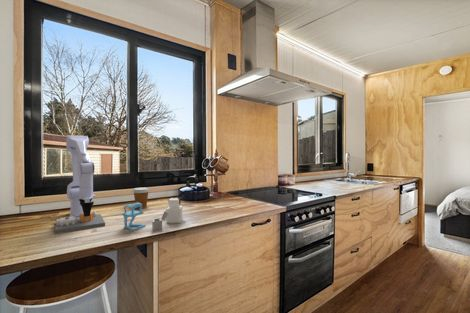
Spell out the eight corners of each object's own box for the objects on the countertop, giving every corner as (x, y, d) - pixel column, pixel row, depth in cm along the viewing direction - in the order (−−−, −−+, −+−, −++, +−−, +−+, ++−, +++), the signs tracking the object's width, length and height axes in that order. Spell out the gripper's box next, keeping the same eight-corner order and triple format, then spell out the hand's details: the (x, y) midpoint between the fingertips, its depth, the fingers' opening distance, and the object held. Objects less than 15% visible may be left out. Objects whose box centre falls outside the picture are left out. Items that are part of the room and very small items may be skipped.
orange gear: (79, 219, 117) (79, 212, 117) (92, 217, 120) (92, 211, 120) (80, 222, 112) (79, 215, 112) (93, 220, 116) (93, 213, 116)
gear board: (56, 222, 117) (56, 214, 116) (100, 216, 128) (100, 208, 128) (55, 233, 102) (55, 223, 102) (105, 225, 113) (105, 216, 113)
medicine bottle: (168, 218, 125) (168, 196, 125) (182, 218, 126) (182, 196, 126) (166, 223, 118) (166, 199, 118) (180, 223, 119) (180, 199, 119)
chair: (133, 224, 117) (133, 200, 116) (145, 226, 113) (145, 201, 113) (119, 228, 110) (119, 203, 109) (132, 231, 106) (132, 205, 106)
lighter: (153, 230, 107) (153, 213, 107) (152, 229, 109) (152, 212, 108) (168, 228, 111) (168, 211, 111) (167, 227, 113) (167, 210, 112)
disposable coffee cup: (140, 210, 142) (140, 190, 142) (129, 208, 147) (129, 189, 146) (152, 206, 151) (152, 188, 151) (141, 204, 155) (141, 186, 155)
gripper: (97, 188, 112) (97, 216, 113) (94, 184, 124) (94, 209, 124) (79, 189, 108) (79, 219, 109) (78, 185, 120) (78, 211, 120)
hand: (86, 214), depth 116 cm, fingers open, 7 cm apart
